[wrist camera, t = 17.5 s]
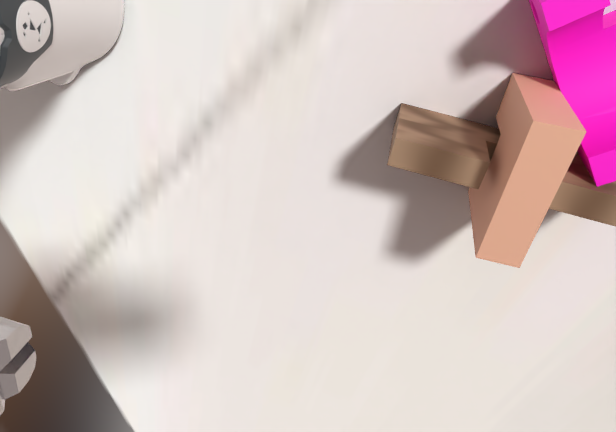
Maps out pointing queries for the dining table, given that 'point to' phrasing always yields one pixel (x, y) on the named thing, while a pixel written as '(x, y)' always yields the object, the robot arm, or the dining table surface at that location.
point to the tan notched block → (523, 168)
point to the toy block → (584, 73)
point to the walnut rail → (484, 160)
